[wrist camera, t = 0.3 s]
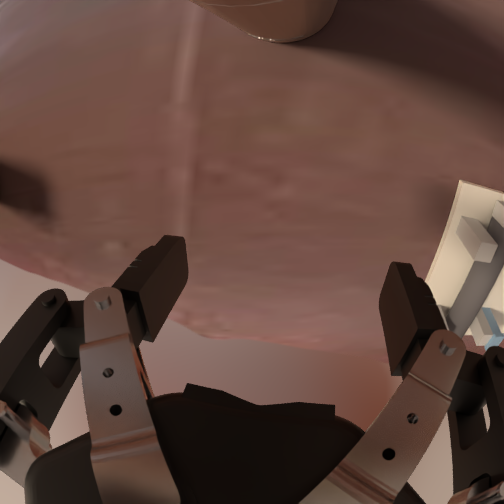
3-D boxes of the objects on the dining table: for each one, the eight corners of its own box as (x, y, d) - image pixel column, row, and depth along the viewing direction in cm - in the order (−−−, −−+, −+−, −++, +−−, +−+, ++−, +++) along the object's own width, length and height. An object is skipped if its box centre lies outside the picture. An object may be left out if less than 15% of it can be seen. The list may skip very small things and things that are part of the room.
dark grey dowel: (491, 197, 22) (509, 213, 19) (512, 202, 22) (529, 219, 19) (431, 331, 33) (438, 351, 30) (451, 330, 33) (459, 350, 30)
